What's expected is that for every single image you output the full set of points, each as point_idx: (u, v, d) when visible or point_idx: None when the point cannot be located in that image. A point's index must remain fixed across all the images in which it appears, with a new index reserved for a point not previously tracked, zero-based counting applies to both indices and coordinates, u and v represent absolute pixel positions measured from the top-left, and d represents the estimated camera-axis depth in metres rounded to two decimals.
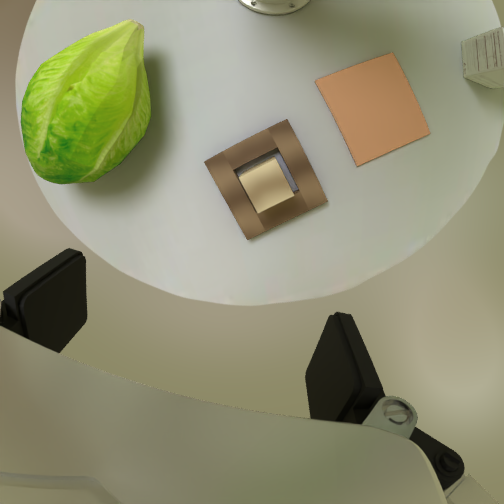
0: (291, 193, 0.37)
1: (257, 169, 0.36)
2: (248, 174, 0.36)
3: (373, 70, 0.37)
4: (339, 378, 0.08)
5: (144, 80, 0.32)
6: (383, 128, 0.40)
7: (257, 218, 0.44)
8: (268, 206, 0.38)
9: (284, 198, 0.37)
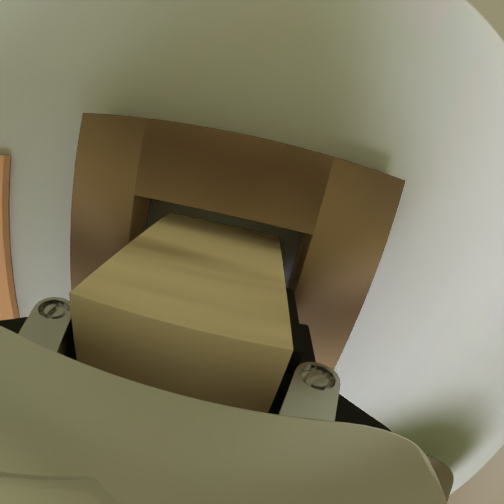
0: (77, 309, 0.06)
1: None
2: None
3: None
4: None
5: None
6: None
7: (322, 216, 0.11)
8: (216, 342, 0.06)
9: (117, 316, 0.06)
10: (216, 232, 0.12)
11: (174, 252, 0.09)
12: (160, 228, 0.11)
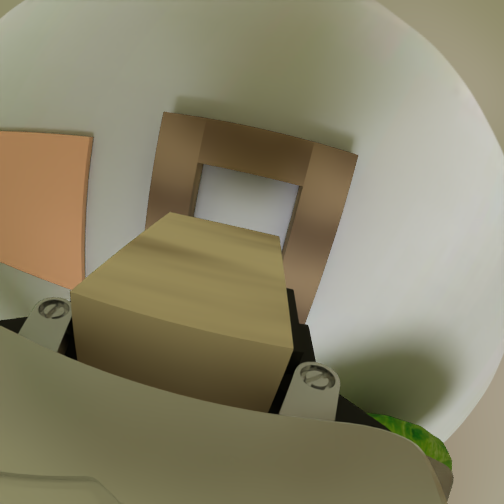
0: (78, 308, 0.06)
1: None
2: None
3: (14, 253, 0.24)
4: None
5: None
6: (31, 172, 0.21)
7: (308, 175, 0.19)
8: (216, 341, 0.06)
9: (117, 315, 0.06)
10: (216, 232, 0.12)
11: (174, 251, 0.09)
12: (160, 227, 0.11)
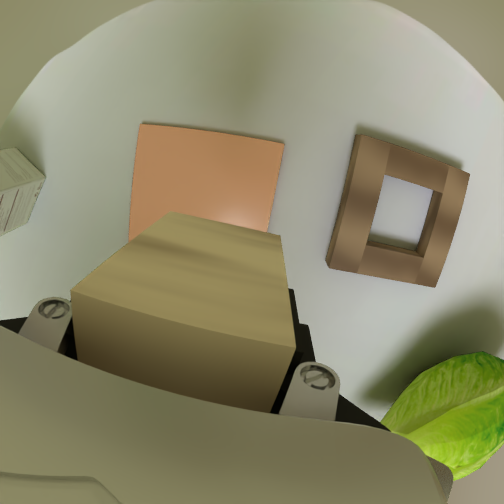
0: (78, 307, 0.06)
1: None
2: None
3: None
4: None
5: (410, 414, 0.27)
6: (209, 169, 0.28)
7: (446, 186, 0.26)
8: (218, 340, 0.06)
9: (118, 313, 0.06)
10: (216, 230, 0.12)
11: (175, 250, 0.09)
12: (161, 226, 0.11)
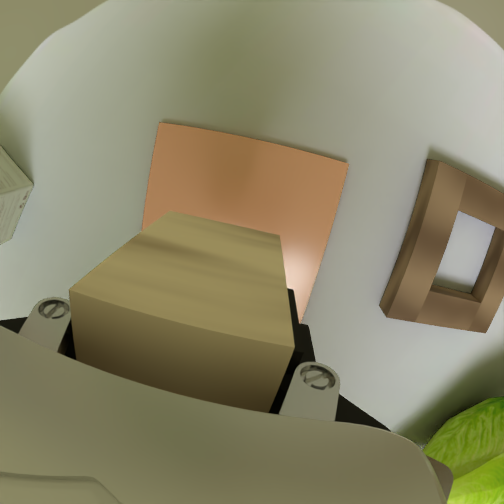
0: (77, 306, 0.06)
1: None
2: None
3: None
4: None
5: (448, 464, 0.21)
6: (251, 189, 0.22)
7: None
8: (217, 339, 0.06)
9: (116, 313, 0.06)
10: (216, 230, 0.12)
11: (174, 249, 0.09)
12: (160, 226, 0.11)
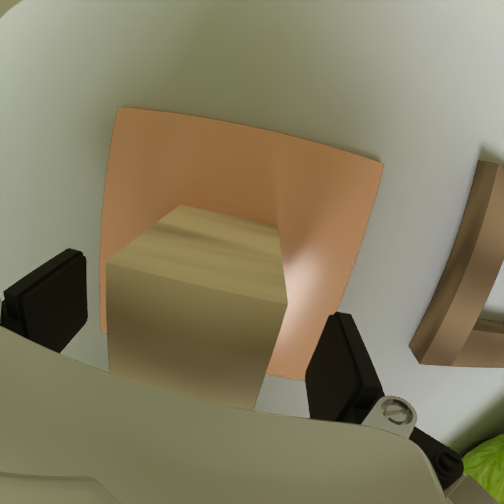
0: (112, 276, 0.08)
1: None
2: None
3: None
4: (338, 378, 0.08)
5: None
6: (245, 199, 0.15)
7: None
8: (227, 298, 0.08)
9: (146, 279, 0.08)
10: (222, 220, 0.14)
11: (188, 234, 0.11)
12: (174, 217, 0.13)
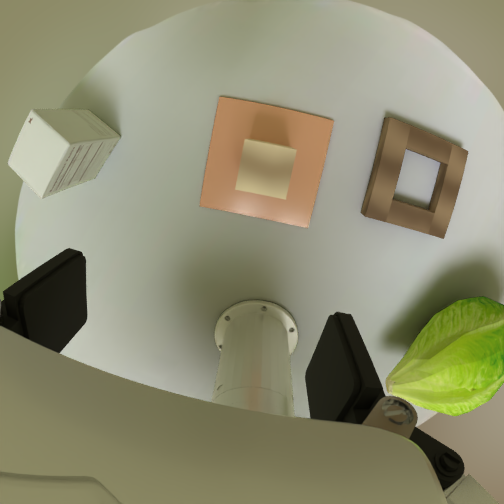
0: (246, 143, 0.28)
1: (261, 192, 0.30)
2: (273, 195, 0.30)
3: (238, 199, 0.38)
4: (339, 378, 0.08)
5: (430, 343, 0.35)
6: (276, 136, 0.35)
7: (450, 159, 0.33)
8: (280, 148, 0.28)
9: (257, 143, 0.28)
10: (268, 142, 0.34)
11: (260, 141, 0.31)
12: (251, 139, 0.33)
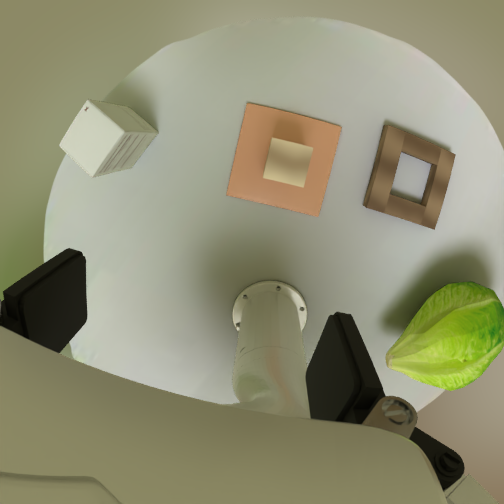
0: (273, 141, 0.34)
1: (283, 181, 0.36)
2: (294, 183, 0.36)
3: (260, 190, 0.44)
4: (339, 378, 0.08)
5: (424, 319, 0.41)
6: (294, 138, 0.42)
7: (439, 161, 0.40)
8: (300, 145, 0.34)
9: (282, 141, 0.34)
10: None
11: None
12: None
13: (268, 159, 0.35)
